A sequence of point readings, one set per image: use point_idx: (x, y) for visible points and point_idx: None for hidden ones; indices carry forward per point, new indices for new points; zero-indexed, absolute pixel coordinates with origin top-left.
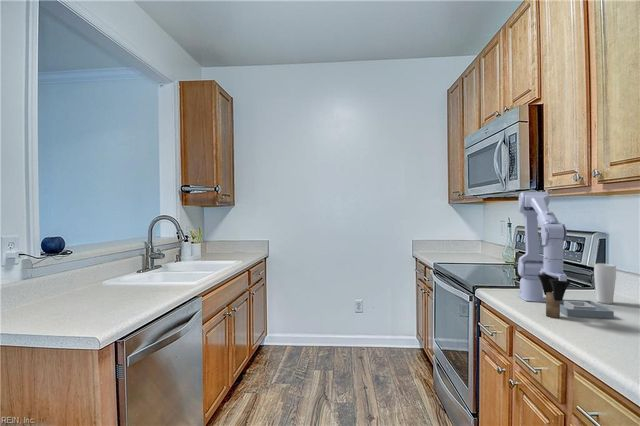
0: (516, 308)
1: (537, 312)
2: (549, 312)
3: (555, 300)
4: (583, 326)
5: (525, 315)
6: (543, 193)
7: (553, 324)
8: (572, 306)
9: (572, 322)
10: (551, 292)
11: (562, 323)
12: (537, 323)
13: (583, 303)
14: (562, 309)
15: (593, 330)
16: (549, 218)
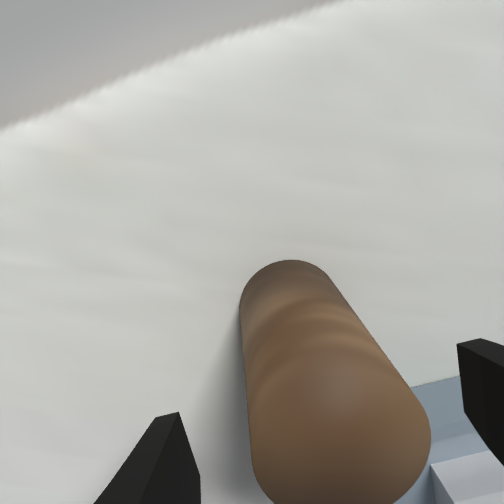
0: (474, 19)
1: (383, 205)
2: (253, 295)
3: (153, 420)
4: (108, 460)
5: (233, 81)
6: None
7: (47, 280)
8: (466, 492)
9: (180, 412)
10: (422, 441)
11: (115, 346)
12: (3, 157)
13: None
14: (432, 406)
15: (40, 497)
16: None
